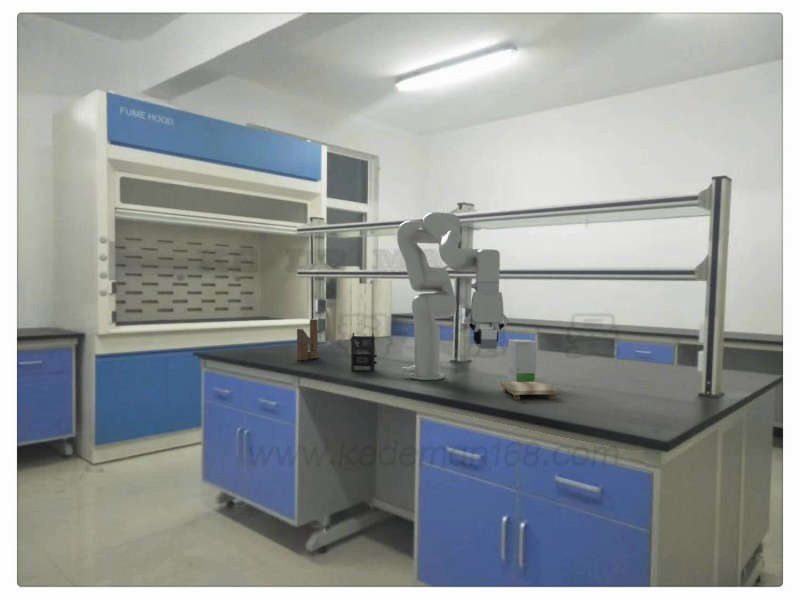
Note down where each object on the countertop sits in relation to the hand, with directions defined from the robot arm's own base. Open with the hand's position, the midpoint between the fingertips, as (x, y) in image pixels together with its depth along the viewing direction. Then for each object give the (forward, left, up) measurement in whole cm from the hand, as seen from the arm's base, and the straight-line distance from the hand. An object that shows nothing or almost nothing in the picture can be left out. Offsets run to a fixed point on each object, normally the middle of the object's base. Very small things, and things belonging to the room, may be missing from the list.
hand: (485, 343), depth 182 cm
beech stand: (+13, -3, -17) cm, 21 cm away
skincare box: (+17, +16, -17) cm, 29 cm away
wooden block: (-62, +79, -17) cm, 101 cm away
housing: (0, 0, -1) cm, 1 cm away
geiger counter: (-38, +48, -17) cm, 63 cm away
